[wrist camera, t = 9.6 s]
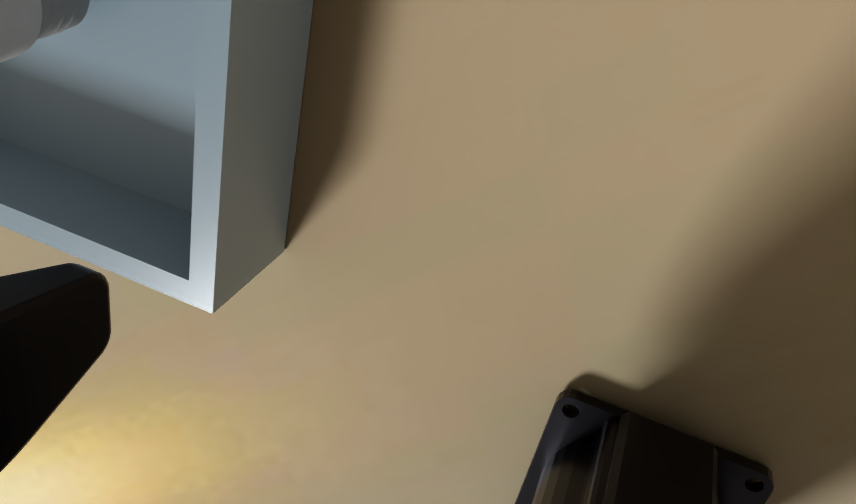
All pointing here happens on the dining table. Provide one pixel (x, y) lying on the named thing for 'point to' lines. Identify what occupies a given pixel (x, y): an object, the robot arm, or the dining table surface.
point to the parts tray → (159, 140)
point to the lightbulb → (35, 22)
